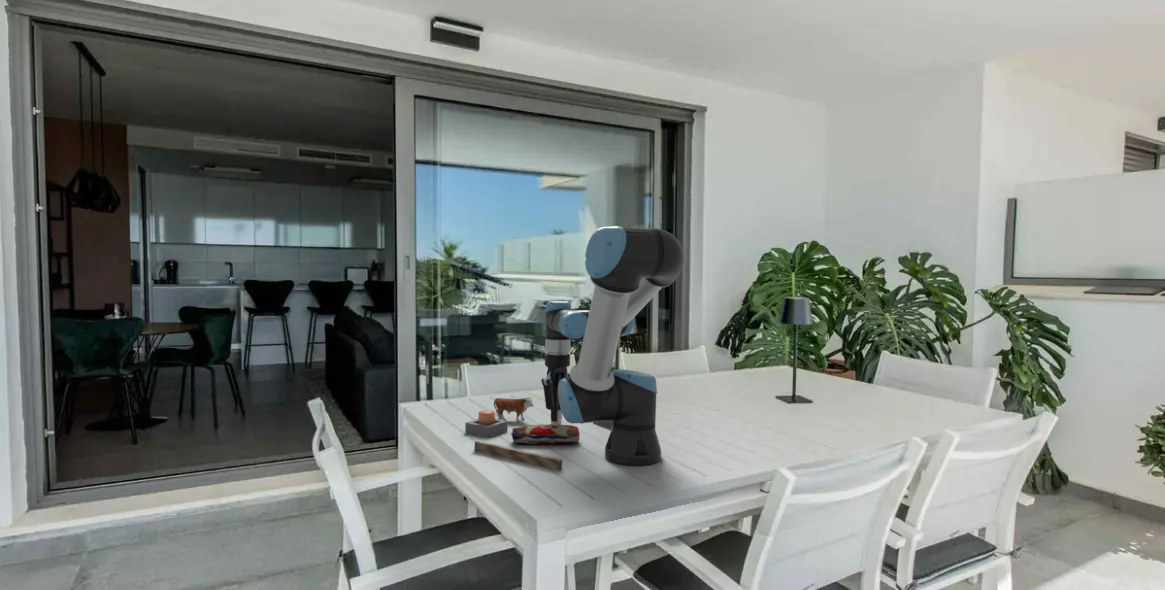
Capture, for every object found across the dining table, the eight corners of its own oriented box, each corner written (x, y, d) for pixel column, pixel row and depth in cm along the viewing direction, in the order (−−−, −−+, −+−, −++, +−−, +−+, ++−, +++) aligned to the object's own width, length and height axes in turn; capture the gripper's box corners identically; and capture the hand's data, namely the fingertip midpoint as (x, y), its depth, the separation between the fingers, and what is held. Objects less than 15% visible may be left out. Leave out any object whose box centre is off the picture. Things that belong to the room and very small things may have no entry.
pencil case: (575, 450, 172) (575, 433, 171) (507, 446, 174) (507, 428, 174) (581, 439, 182) (581, 423, 182) (516, 435, 185) (517, 419, 185)
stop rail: (561, 469, 155) (562, 459, 155) (559, 470, 154) (559, 460, 154) (477, 449, 170) (477, 440, 170) (474, 450, 169) (474, 441, 169)
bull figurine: (532, 423, 200) (532, 398, 199) (492, 420, 202) (492, 395, 201) (535, 419, 204) (535, 395, 203) (496, 417, 206) (496, 393, 206)
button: (498, 424, 189) (498, 411, 189) (487, 428, 185) (487, 415, 184) (485, 422, 191) (485, 409, 191) (474, 425, 187) (475, 412, 187)
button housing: (507, 430, 190) (507, 421, 189) (488, 437, 182) (488, 427, 182) (485, 426, 194) (485, 416, 194) (465, 432, 187) (465, 422, 186)
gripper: (559, 349, 191) (558, 425, 192) (534, 354, 180) (532, 434, 181) (580, 351, 187) (578, 428, 188) (555, 356, 176) (553, 438, 177)
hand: (556, 431), depth 184 cm, fingers closed
